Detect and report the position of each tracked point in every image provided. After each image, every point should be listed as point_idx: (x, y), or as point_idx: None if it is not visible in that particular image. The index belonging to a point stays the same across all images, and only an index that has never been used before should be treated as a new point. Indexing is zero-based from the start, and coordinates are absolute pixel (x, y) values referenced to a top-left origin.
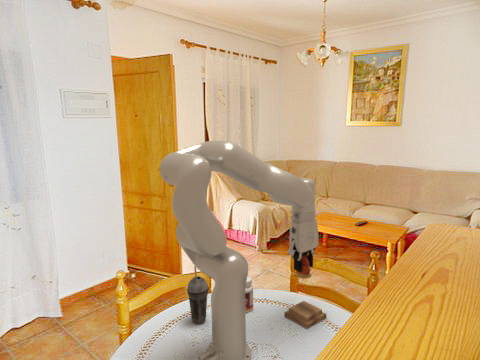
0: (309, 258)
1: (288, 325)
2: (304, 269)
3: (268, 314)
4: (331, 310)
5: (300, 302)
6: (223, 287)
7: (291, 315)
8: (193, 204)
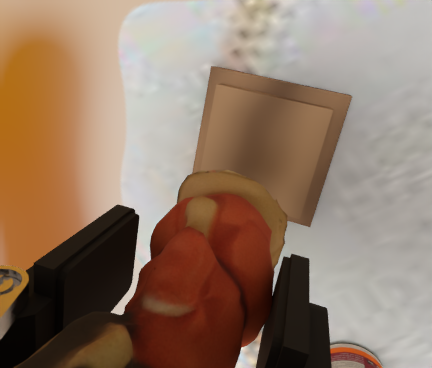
0: (86, 281)
1: (366, 176)
2: (260, 245)
3: (333, 278)
4: (148, 75)
5: None
6: None
7: (317, 191)
8: None
